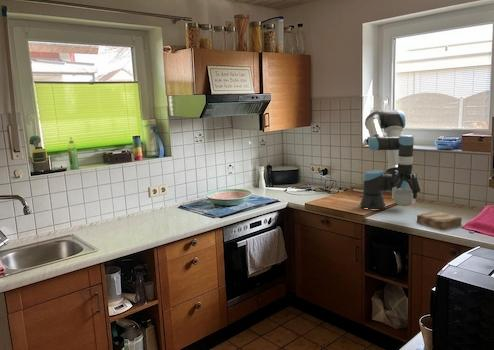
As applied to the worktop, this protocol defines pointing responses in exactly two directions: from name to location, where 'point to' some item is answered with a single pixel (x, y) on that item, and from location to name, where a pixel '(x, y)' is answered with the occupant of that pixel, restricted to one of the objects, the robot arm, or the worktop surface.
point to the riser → (439, 220)
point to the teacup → (402, 197)
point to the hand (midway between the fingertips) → (403, 201)
